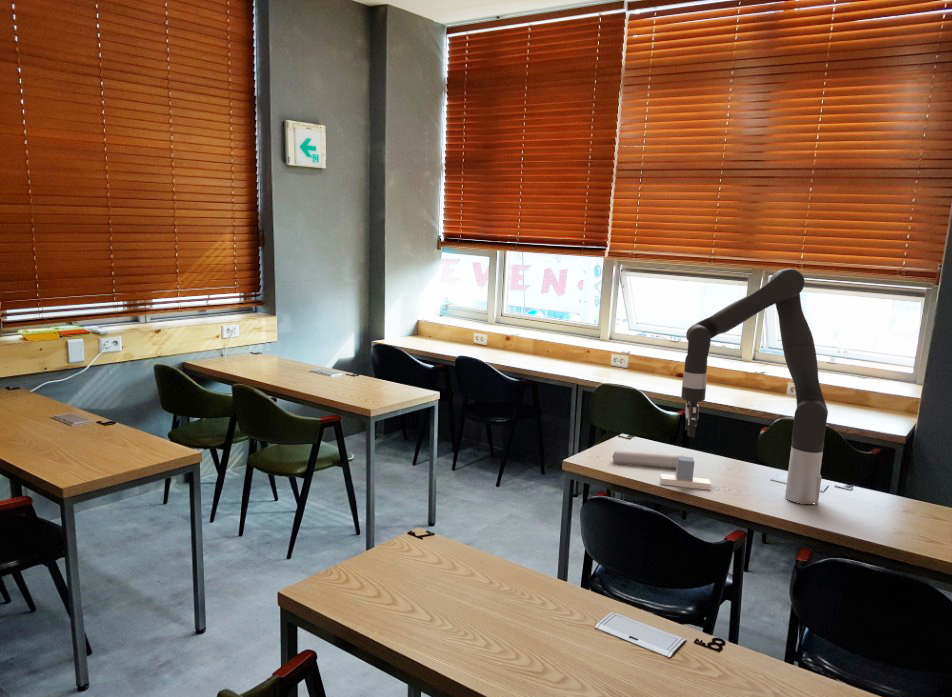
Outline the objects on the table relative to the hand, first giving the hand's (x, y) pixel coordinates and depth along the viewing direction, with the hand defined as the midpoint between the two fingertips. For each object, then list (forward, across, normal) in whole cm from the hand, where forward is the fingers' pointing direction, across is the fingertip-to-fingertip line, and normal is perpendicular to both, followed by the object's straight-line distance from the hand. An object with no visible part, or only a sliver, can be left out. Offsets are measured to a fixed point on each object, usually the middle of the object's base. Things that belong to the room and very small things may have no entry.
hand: (690, 433), depth 237 cm
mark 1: (+18, 0, -9) cm, 21 cm away
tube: (+18, +18, +12) cm, 28 cm away
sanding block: (+16, 0, +1) cm, 16 cm away
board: (+18, 0, 0) cm, 18 cm away
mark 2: (+18, 0, -12) cm, 22 cm away
